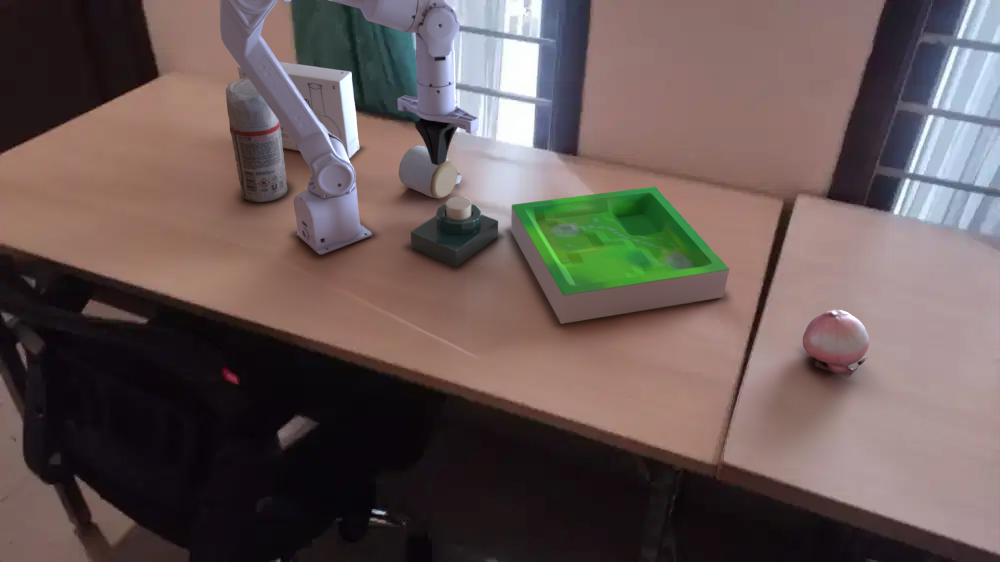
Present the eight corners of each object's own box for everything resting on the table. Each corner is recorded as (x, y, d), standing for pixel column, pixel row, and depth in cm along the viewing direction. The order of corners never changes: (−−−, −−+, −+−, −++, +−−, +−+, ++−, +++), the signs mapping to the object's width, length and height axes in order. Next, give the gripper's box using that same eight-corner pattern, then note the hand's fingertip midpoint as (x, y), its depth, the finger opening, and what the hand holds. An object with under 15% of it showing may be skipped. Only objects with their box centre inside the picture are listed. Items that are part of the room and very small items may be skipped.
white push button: (460, 224, 119) (460, 212, 118) (440, 216, 121) (440, 204, 120) (476, 213, 122) (476, 201, 121) (456, 205, 124) (456, 194, 123)
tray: (561, 323, 107) (563, 295, 104) (511, 231, 126) (511, 204, 124) (723, 297, 113) (729, 269, 110) (651, 212, 132) (655, 186, 129)
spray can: (297, 182, 139) (280, 74, 127) (281, 205, 132) (263, 93, 121) (251, 179, 139) (230, 72, 128) (234, 202, 133) (210, 91, 121)
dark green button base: (456, 267, 118) (455, 239, 115) (411, 247, 122) (409, 220, 119) (498, 236, 125) (498, 209, 122) (454, 219, 129) (454, 192, 126)
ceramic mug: (433, 207, 132) (432, 166, 128) (398, 192, 136) (396, 152, 132) (472, 185, 139) (472, 146, 135) (438, 171, 143) (437, 133, 139)
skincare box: (250, 145, 151) (235, 65, 142) (265, 133, 155) (251, 56, 146) (348, 160, 146) (339, 79, 137) (361, 148, 150) (353, 69, 141)
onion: (847, 341, 105) (863, 299, 101) (871, 380, 99) (889, 337, 94) (789, 342, 105) (802, 299, 100) (810, 381, 98) (825, 338, 94)
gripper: (490, 83, 115) (490, 165, 123) (416, 62, 122) (420, 141, 130) (461, 98, 110) (462, 182, 118) (386, 75, 117) (391, 156, 125)
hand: (438, 162), depth 124 cm, fingers closed
